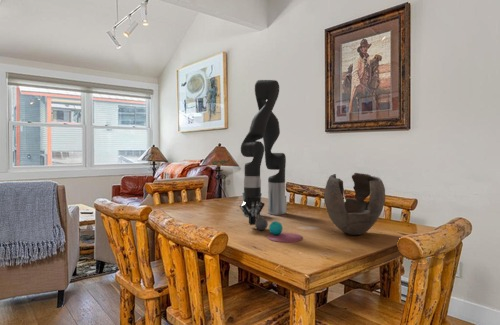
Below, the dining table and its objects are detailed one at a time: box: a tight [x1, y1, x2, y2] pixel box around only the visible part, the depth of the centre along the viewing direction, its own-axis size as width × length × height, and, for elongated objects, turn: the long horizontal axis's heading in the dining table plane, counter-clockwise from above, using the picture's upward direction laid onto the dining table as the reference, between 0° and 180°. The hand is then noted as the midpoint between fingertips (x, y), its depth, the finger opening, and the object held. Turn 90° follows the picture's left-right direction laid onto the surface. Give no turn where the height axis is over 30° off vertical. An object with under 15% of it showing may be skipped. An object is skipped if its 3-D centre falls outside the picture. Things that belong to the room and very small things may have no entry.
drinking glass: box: [242, 192, 263, 218], centre depth 180 cm, size 10×10×12 cm
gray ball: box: [254, 216, 269, 231], centre depth 147 cm, size 6×6×6 cm
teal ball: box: [268, 220, 283, 235], centre depth 139 cm, size 6×6×6 cm
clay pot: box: [323, 172, 386, 236], centre depth 139 cm, size 24×24×25 cm
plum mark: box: [267, 232, 303, 243], centre depth 135 cm, size 14×14×1 cm
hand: (252, 224), depth 151 cm, fingers closed
